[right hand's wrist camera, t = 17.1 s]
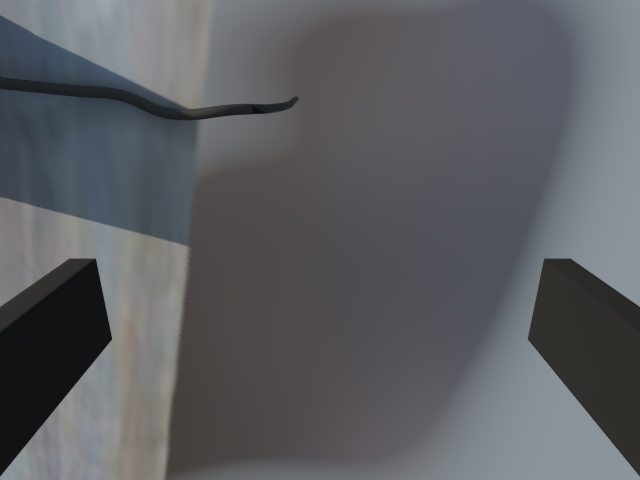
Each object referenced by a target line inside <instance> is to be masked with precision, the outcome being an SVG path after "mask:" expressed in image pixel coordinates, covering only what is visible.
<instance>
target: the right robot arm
mask: <svg viewBox="0 0 640 480" xmlns="http://www.w3.org/2000/svg"><path fill="white" fill-rule="evenodd" d="M0 89H9V90H18V91H28V92H37V93H47V94H56V95H66V96H76V97H92V98H106V99H113V100H118V101H123V102H126V103H129V104H132V105H134V106H136V107H138V108H140V109H142V110H144V111H146V112H149V113H151V114H153V115H156V116H159V117H163V118H167V119H174V120H200V119H208V118H214V117H222V116H230V115H246V114H268V113H275V112H280V111H284V110H287V109H290V108H291V107H293V106H294V105H295V103H296V102H297V101H298V100H299V98H298V97H297V96H296V97H293V98H292V99H290V100H289V101H287V102H283V103H275V104H232V105H221V106H214V107H208V108H200V109H171V108H166V107H162V106H159V105H156V104H154V103H151V102H149V101H147V100H145V99H143V98H141V97H139V96H137V95H135V94H132V93H129V92H126V91H123V90H118V89H113V88H106V87H91V86H75V85H66V84H56V83H47V82H38V81H29V80H20V79H10V78H1V77H0ZM111 340H112V336H111V331H110V326H109V321H108V316H107V312H106V307H105V302H104V297H103V292H102V287H101V282H100V277H99V272H98V267H97V262H96V259H68V260H67V261H66V262H64V263H63V264H61V265H60V266H58V267H57V268H55V269H54V270H53V271H51V272H50V273H48V274H47V275H45V276H44V277H43V278H41V279H40V280H38V281H37V282H35V283H34V284H32V285H31V286H30V287H28V288H27V289H25V290H24V291H22V292H21V293H20V294H18V295H17V296H15V297H14V298H12V299H11V300H9V301H8V302H7V303H5V304H4V305H2V306H1V307H0V476H1V475H2V474H3V472H4V471H5V470H6V469H7V467H8V466H9V465H10V464H11V462H12V461H13V460H14V459H15V458H16V456H17V455H18V454H19V453H20V451H21V450H22V449H23V448H24V447H25V445H26V444H27V443H28V442H29V440H30V439H31V438H32V437H33V436H34V434H35V433H36V432H37V431H38V429H39V428H40V427H41V426H42V424H43V423H44V422H45V421H46V420H47V418H48V417H49V416H50V415H51V413H52V412H53V411H54V410H55V409H56V407H57V406H58V405H59V404H60V402H61V401H62V400H63V399H64V398H65V396H66V395H67V394H68V393H69V391H70V390H71V389H72V388H73V387H74V385H75V384H76V383H77V382H78V380H79V379H80V378H81V377H82V375H83V374H84V373H85V372H86V371H87V369H88V368H89V367H90V366H91V364H92V363H93V362H94V361H95V360H96V358H97V357H98V356H99V355H100V353H101V352H102V351H103V350H104V349H105V347H106V346H107V345H108V344H109V342H110V341H111ZM528 340H529V341H530V342H531V344H532V345H533V346H534V347H535V348H536V350H537V351H538V352H539V353H540V355H541V356H542V357H543V358H544V360H545V361H546V362H547V363H548V364H549V366H550V367H551V368H552V369H553V371H554V372H555V373H556V374H557V375H558V377H559V378H560V379H561V380H562V382H563V383H564V384H565V385H566V387H567V388H568V389H569V390H570V391H571V393H572V394H573V395H574V396H575V397H576V399H577V400H578V401H579V402H580V404H581V405H582V406H583V407H584V408H585V410H586V411H587V412H588V413H589V415H590V416H591V417H592V418H593V420H594V421H595V422H596V423H597V424H598V426H599V427H600V428H601V429H602V431H603V432H604V433H605V434H606V436H607V437H608V438H609V439H610V440H611V442H612V443H613V444H614V445H615V447H616V448H617V449H618V450H619V451H620V453H621V454H622V455H623V456H624V458H625V459H626V460H627V461H628V462H629V464H630V465H631V466H632V467H633V469H634V470H635V471H636V472H637V473H638V475H639V476H640V307H639V306H638V305H636V304H635V303H633V302H632V301H630V300H629V299H628V298H626V297H625V296H623V295H622V294H620V293H619V292H618V291H616V290H615V289H613V288H612V287H610V286H609V285H607V284H606V283H605V282H603V281H602V280H600V279H599V278H597V277H596V276H595V275H593V274H592V273H590V272H589V271H587V270H586V269H584V268H583V267H582V266H580V265H579V264H577V263H576V262H574V261H573V260H572V259H544V263H543V267H542V272H541V277H540V282H539V287H538V292H537V297H536V302H535V307H534V312H533V316H532V321H531V327H530V331H529V336H528Z"/></svg>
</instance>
